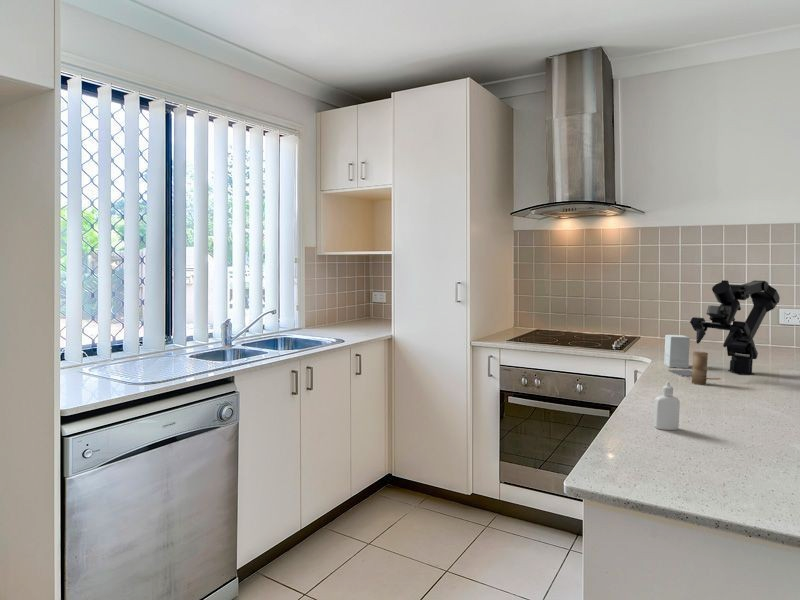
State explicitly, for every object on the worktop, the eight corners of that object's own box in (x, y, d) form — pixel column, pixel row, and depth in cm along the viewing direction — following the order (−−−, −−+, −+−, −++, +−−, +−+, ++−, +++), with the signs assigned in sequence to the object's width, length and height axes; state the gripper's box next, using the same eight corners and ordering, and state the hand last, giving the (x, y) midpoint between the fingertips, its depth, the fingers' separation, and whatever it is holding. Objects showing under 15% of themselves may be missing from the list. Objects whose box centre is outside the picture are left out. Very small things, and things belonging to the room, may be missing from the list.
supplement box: (688, 368, 210) (690, 337, 209) (668, 367, 211) (670, 336, 210) (682, 365, 217) (684, 334, 216) (663, 364, 219) (664, 334, 218)
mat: (689, 371, 204) (689, 370, 204) (703, 376, 194) (703, 375, 194) (668, 371, 204) (668, 369, 204) (682, 376, 194) (682, 375, 194)
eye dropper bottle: (654, 424, 136) (656, 378, 135) (678, 427, 133) (681, 381, 132) (652, 428, 132) (654, 382, 132) (677, 432, 130) (680, 384, 129)
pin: (701, 382, 186) (703, 351, 185) (708, 385, 181) (710, 353, 180) (689, 382, 186) (690, 351, 185) (696, 384, 181) (697, 353, 180)
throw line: (718, 378, 192) (718, 377, 192) (720, 379, 191) (720, 378, 191) (685, 378, 192) (685, 377, 192) (687, 378, 191) (687, 377, 191)
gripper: (693, 295, 197) (676, 327, 192) (748, 299, 181) (731, 333, 176) (703, 314, 202) (687, 346, 197) (757, 319, 186) (741, 353, 181)
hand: (710, 344), depth 188 cm, fingers open, 9 cm apart
